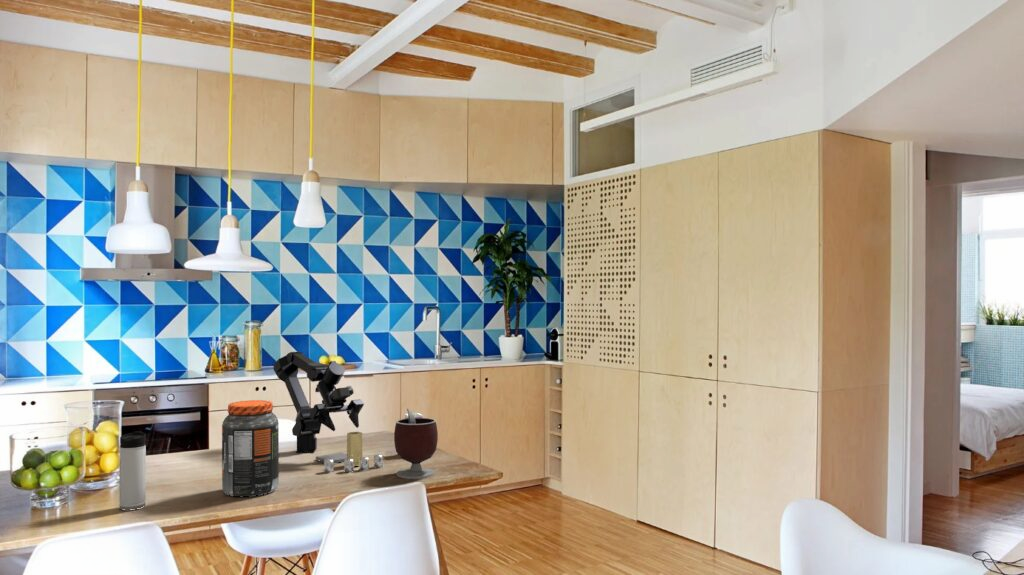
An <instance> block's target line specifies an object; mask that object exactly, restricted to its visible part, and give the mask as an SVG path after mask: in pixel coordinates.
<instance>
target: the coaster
mask: <svg viewBox="0 0 1024 575" xmlns="http://www.w3.org/2000/svg"><path fill="white" fill-rule="evenodd" d="M316 459H317V460H320V461H319V462H321V461H323V462H322V463H324V460H325V459H334V463H337V464H339V463H338V462H343V463H344V459H347V453H344V452H341V451H340V452H335V453H329V454H328V453H327V454H324V455H318V456H315V460H316ZM317 460H316V461H317Z"/></svg>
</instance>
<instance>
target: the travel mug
mask: <svg viewBox="0 0 1024 575" xmlns="http://www.w3.org/2000/svg"><path fill="white" fill-rule="evenodd" d="M146 438H147V437H146V433H144V432H143V431H134V432H129V433H125V434H123V435H121V436H120V438H119V443H120V444H119V499H118V500H119V504H118V506H119V507H118V508H120V509H125V510H130V509H137V508H141V507H143V506H145V507H146V494H147V493H146V489H147V488H146V486H147V482H146V480H147V479H146V476H147V475H146V472H147V470H146V469H147V461H146V460H147V459H146V458H147V449H146V446H147V445H146V440H147V439H146ZM120 509H119V510H120Z"/></svg>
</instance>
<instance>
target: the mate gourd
mask: <svg viewBox="0 0 1024 575" xmlns="http://www.w3.org/2000/svg"><path fill="white" fill-rule="evenodd" d="M406 411H407V414H408V418H405V417H404V418H400V419H397V420H396V421H395V426H394V434H393V435H394V436H393V442H394V450H395V452H396V454H397V455H398V457H399V458H400V459H401V460H403V461H406V462H408V463H411V465H410V468H403V469H400V470H398V471H397V472H396V476H397V477H398V478H400V479H401V478H402V479H409V480H419V479H421V480H422V479H427V477H428V478H431V477H430V476H432V477H434V476H435V475H436V471H435V470H434V469H432V468H427V467H422V465H421V463H423V462H426V461H427V460H429V459H431V458H432V457H433V456H434V454H435V453H436V451H437V448H438V440H439V438H438V437H439V434H438V433H439V432H438V425H437V420H436V419H435V418H430V417H429V418H428V417H423V418H415V417H414V415H413V413H414V412H412V411H411V409H410V408H406ZM433 475H434V476H433Z"/></svg>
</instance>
